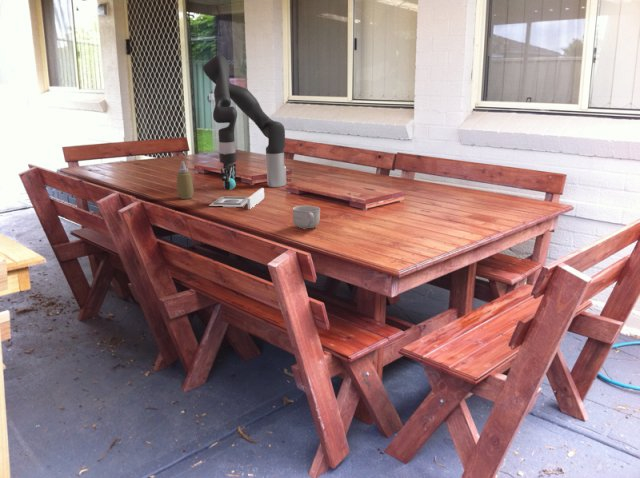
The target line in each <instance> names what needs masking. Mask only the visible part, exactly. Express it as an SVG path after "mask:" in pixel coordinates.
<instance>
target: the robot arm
mask: <svg viewBox="0 0 640 478" xmlns="http://www.w3.org/2000/svg"><path fill="white" fill-rule="evenodd" d="M202 69H203V72H204V74H205V75H206V76H207V77H208V79H209V80H210V81H212V83H214V84H215V86H214V90H213V98H214V104H215V105H214V109H213V112H212V117H213V121H215V123H217V124H225V123H226V124H227V123H228V125H227V126H225V127H222V128H220V129H218V132H217V133H218V134H217V135H218V153H219V162H220V163H221V164H223V166H222V168H221V169H220V173H221V180H222V182H223V183H224V182H225V187H224V190H226V191H231V190H230V182H229V181H230V178H232V179H234V180H235V178H236V176H237V164H236V162H237V150H236V148H237V147H236V141H235V140H236V139H235V128H236V122H237V118H238V111H237V109H236V107H234V106H231V105H232V102H233V103H234V104H235V105H236V106H237V107H238V108H239V109H240V110H241V112H242V113H244V114H245V115H246V116H247V117H248V118H249V119H250V120H251V121H252V122H253V123H254V124H255V125H256V126H257V128H258V129H259V130H260V132H261V133H262V134H263V135H264V136H265V138H267V139H268V144H267V146H266V147H265V157H266V158H265V160H266V161H265V162H266V175H267V176H266V178H267V179H266V180H267V181H266V182H267V183H266V184H267V186H268V187H271V188H280V187H284V186H286V185H287V183H288V182H287V167H286V166H285V147H286V132H285V130H286V129H285V126H284V125H283V123H282V122H280V121H277V120H273V119H271V117H269V116H268V115H267V114H266V113H265V112H264V110H263V108H262V106H261V105H260V103H259V101H258V100H257V98H256V97H255V96H254V95H253V94H252V92H251V91H250V90H248V88H246V87H244V86H240V85H236V84H234V83H231V82H230V69H231V68H230V64H229V62H228V60H227V59H226V58H225V57H224V56H223V55H221V54H217V55H214V56H213V57H212V58H211V59H209V60H208V61H207V62H206V63H204V64H203V67H202ZM231 101H232V102H231Z"/></svg>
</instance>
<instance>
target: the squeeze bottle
mask: <svg viewBox="0 0 640 478" xmlns="http://www.w3.org/2000/svg"><path fill="white" fill-rule="evenodd" d="M194 190H195V189H194V184H193V180H192V174H191V173H190V172H189V168H188V167H186V164H185V161H184V160H181V163H180V168H179V169H178V173H176V193H177V195H178V197H179V199H180V198H181V200H189V199H192V198H193V195H194V192H195V191H194Z"/></svg>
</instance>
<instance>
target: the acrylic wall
mask: <svg viewBox="0 0 640 478" xmlns="http://www.w3.org/2000/svg"><path fill="white" fill-rule="evenodd" d="M248 197H249V198H247V201H248V204H247V210H249V209H251V208H252V207H253V208H255V205H256V204H257V205H259V203H260V202H262V201H263V200H264V199H265V188H264V187H261V188H259V189H258V190H257V191H255V192H254V193H253V194H251V195H250V196H248ZM257 205H256V206H257ZM253 208H252V209H253ZM252 209H251V210H252Z"/></svg>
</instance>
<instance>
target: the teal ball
mask: <svg viewBox="0 0 640 478" xmlns="http://www.w3.org/2000/svg"><path fill="white" fill-rule="evenodd" d="M229 182H230V190H229V191H231V190H232V191H233V190H234V188H235V187H236V181H235V179H232V178H230V181H229ZM223 187H224V188H225V182H224V181H223Z"/></svg>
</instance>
